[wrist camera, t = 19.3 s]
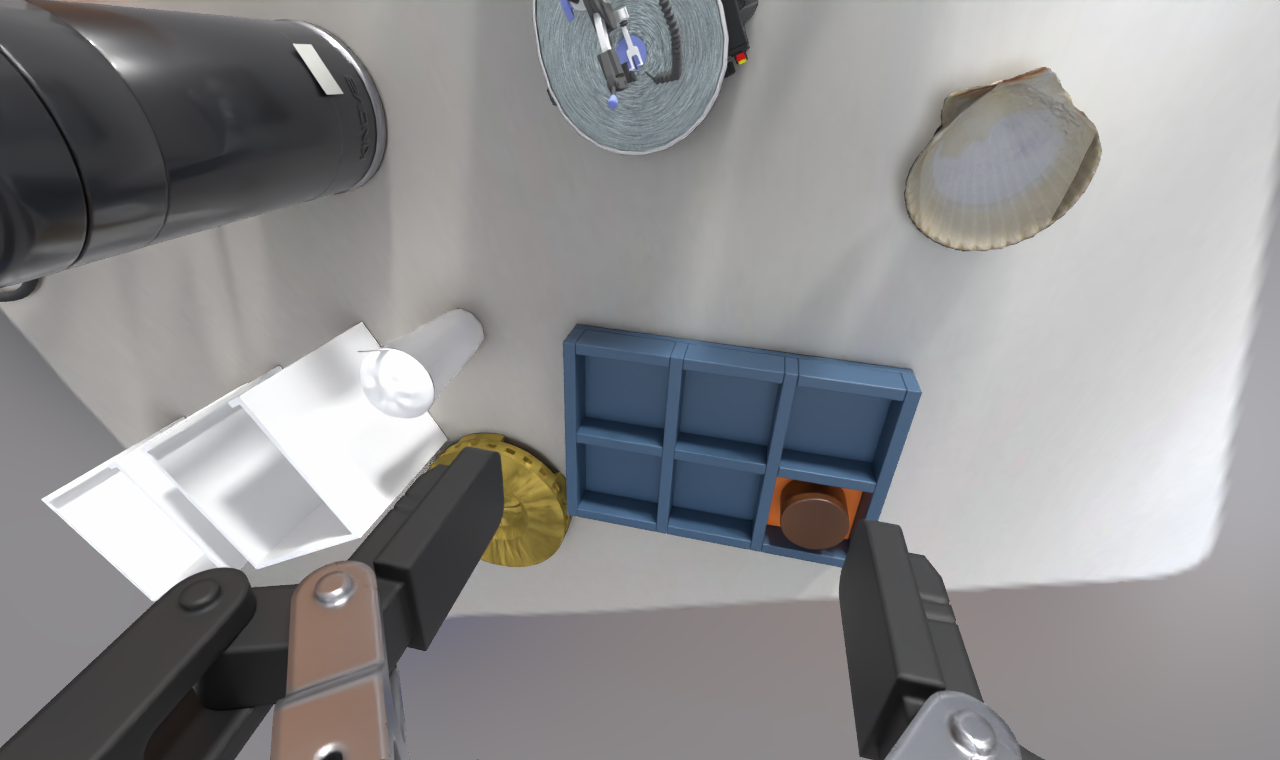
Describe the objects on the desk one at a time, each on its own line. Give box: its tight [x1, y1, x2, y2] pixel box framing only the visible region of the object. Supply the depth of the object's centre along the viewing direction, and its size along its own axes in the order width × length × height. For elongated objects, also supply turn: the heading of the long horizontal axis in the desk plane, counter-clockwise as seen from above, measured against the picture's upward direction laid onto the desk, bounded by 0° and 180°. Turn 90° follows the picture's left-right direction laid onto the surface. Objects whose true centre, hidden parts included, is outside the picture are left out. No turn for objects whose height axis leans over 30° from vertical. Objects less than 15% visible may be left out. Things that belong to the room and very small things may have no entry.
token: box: [780, 480, 850, 549], centre depth 38 cm, size 4×4×2 cm
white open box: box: [41, 322, 448, 601], centre depth 43 cm, size 25×11×11 cm, turn 118°
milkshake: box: [357, 308, 484, 418], centre depth 35 cm, size 5×5×10 cm
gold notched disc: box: [428, 433, 571, 567], centre depth 46 cm, size 12×12×2 cm
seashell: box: [904, 67, 1102, 251], centre depth 27 cm, size 8×3×8 cm
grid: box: [563, 324, 922, 567], centre depth 38 cm, size 21×14×3 cm
